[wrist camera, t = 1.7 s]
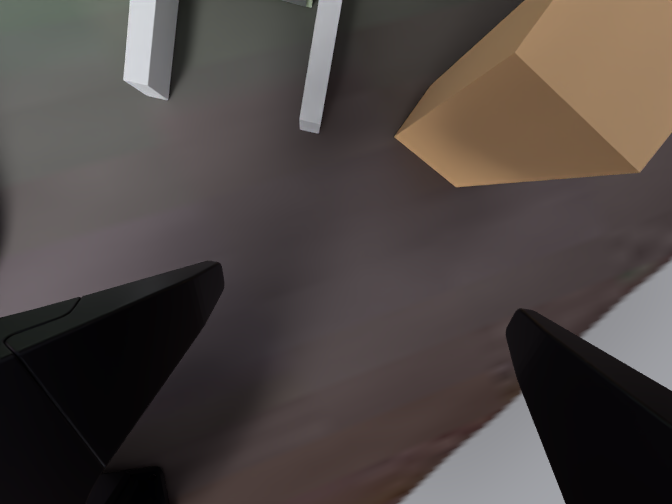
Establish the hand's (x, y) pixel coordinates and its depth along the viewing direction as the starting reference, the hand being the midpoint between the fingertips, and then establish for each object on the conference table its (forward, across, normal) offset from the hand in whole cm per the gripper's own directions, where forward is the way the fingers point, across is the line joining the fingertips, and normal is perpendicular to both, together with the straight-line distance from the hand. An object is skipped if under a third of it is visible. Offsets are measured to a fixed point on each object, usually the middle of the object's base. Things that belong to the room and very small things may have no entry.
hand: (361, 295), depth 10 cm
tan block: (+15, +4, +2) cm, 16 cm away
